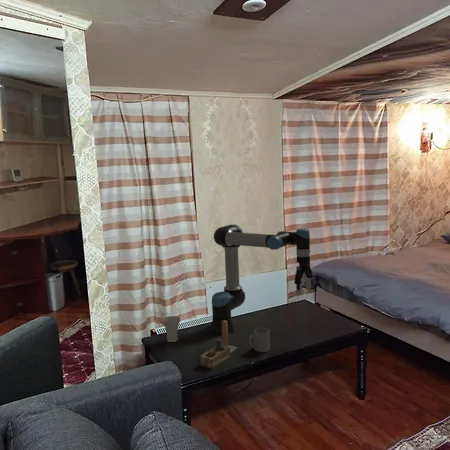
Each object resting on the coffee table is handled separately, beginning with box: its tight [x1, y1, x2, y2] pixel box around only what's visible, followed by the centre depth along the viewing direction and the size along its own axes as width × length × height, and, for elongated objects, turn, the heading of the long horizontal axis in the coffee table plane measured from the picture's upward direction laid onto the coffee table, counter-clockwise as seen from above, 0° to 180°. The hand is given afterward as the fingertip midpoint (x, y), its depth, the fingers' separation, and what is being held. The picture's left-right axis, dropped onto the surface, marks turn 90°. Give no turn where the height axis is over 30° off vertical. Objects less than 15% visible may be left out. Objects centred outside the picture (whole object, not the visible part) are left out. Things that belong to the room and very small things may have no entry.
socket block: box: [199, 338, 231, 370], centre depth 218 cm, size 8×16×10 cm, turn 146°
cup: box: [162, 315, 181, 343], centre depth 245 cm, size 10×10×14 cm
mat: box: [222, 343, 239, 354], centre depth 232 cm, size 10×10×1 cm
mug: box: [248, 327, 271, 353], centre depth 229 cm, size 12×8×11 cm
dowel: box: [221, 320, 229, 347], centre depth 231 cm, size 3×3×16 cm
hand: (303, 291), depth 239 cm, fingers open, 13 cm apart
